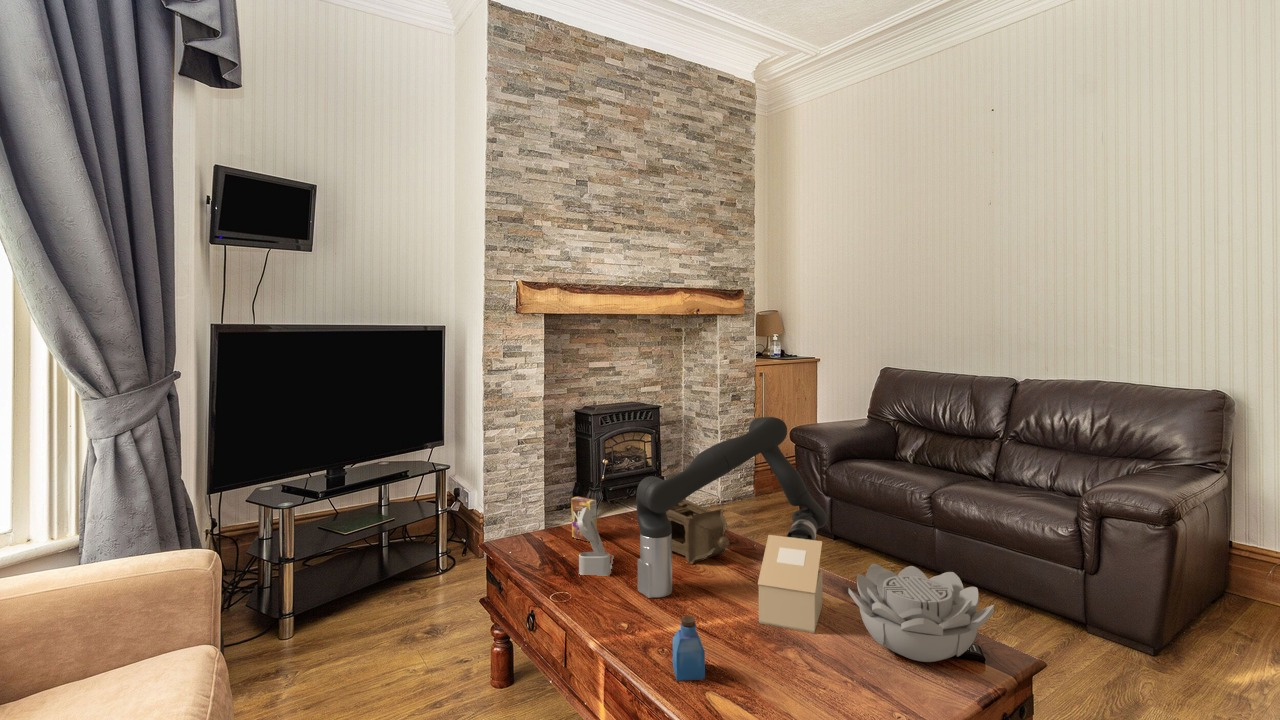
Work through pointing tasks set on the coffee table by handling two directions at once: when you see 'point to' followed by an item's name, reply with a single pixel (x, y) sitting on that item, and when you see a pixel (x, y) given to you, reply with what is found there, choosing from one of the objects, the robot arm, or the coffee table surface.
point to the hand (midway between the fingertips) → (792, 556)
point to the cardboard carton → (790, 607)
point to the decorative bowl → (919, 612)
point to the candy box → (576, 508)
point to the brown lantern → (697, 531)
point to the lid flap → (791, 564)
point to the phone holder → (599, 558)
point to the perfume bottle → (688, 652)
